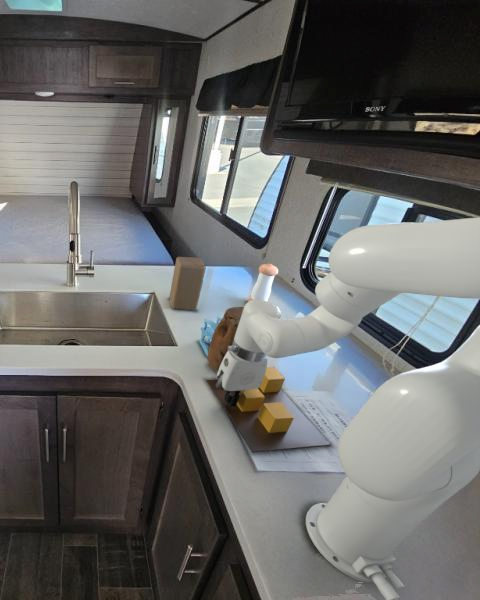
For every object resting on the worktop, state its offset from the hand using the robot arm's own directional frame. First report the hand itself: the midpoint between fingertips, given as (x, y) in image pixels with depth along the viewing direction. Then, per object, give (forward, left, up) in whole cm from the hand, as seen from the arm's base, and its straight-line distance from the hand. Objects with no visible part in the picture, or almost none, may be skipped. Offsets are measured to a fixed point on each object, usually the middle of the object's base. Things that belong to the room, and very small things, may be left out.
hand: (229, 402), depth 87 cm
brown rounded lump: (+16, -7, -2) cm, 18 cm away
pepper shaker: (+52, -41, -2) cm, 66 cm away
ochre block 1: (0, -5, -1) cm, 5 cm away
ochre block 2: (+6, -15, -1) cm, 16 cm away
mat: (-2, -9, -2) cm, 9 cm away
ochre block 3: (-7, -8, -1) cm, 11 cm away
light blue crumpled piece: (+25, -7, -2) cm, 26 cm away
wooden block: (+55, -9, -2) cm, 56 cm away
